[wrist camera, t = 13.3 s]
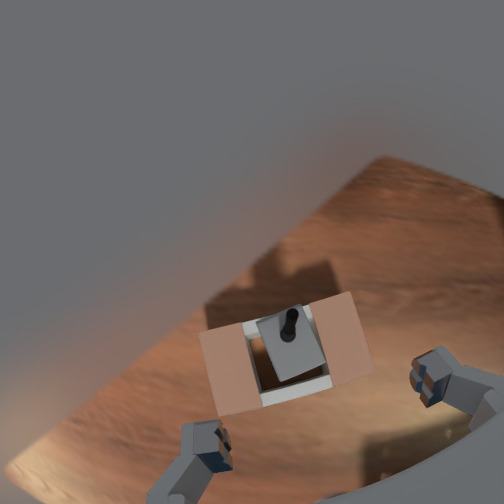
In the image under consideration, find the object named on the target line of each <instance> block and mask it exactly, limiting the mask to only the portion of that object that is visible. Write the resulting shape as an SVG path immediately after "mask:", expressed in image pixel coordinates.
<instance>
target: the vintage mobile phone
mask: <svg viewBox="0 0 504 504" xmlns="http://www.w3.org/2000/svg"><path fill="white" fill-rule="evenodd" d="M256 325H257V328H258V330H259V333H260V335H261V338H262V340H263V342H264V345H265V347H266V350H267V352H268V355H269V357H270V359H271V362H272V364H273V367H274V369H275V371H276V374H277V376H278V379H279V381H281V382H282V381H285V380H287V379H290V378H292V377H294V376H297V375H299V374H301V373H304V372H306V371H308V370H311V369H313V368H315V367H317V366H320V365H322V364H324V363H326V359H325V357H324V355H323V352H322V350H321V348H320V346H319V343H318V341H317V339H316V337H315V334H314V332H313V330H312V328H311V325H310V323H309V321H308V319H307V316H306V314H305V312H304V310H303V307H302V305H301V304H297V305H295V306H293V307H290V308H288V309H285V310H283V311H281V312H278V313H276V314H273V315H271V316H268V317H266V318H264V319H261V320H259V321H256Z"/></svg>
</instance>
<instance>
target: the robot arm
mask: <svg viewBox="0 0 504 504" xmlns="http://www.w3.org/2000/svg"><path fill="white" fill-rule="evenodd" d="M411 366H412V367H413V369H412V370H411V372H410V377H409V378H410V383H411V385H412V388H413V389H414V391H416V392H418V393H420V399H421V401H422V402H423V404H424V405H425V407H426V408H428V407H430V406H432V405H434V404H436V403H438V402H440V401H442V400H443V402H445V403H447V404H449V405H451V406H453V407H455V408H457V409H459V410H461V411H463V412H465V413H467V414H470V415H472V416H473V418H472V420H471V422H470V424H469V426H468V428H469V429H470V431H471V433H469V434H468V435H466V436H465V437H463V438H462V439H460V440H459V441H457V442H455V443H454V444H452V445H450V446H449V447H447V448H445V449H444V450H442V451H440V452H438V453H437V454H435V455H433V456H431V457H429V458H428V459H426V460H424V461H422V462H420V463H418V464H416V465H414V466H412V467H410V468H408V469H406V470H404V471H401V472H399V473H397V474H395V475H393V476H390V477H388V478H386V479H383V480H381V481H378V482H376V483H373V484H371V485H368V486H366V487H363V488H360V489H357V490H355V491H352V492H349V493H346V494H343V495H340V496H337V497H333V498H330V499H327V500H323V501H319V502H316V503H312V504H504V377H503V376H500V375H496V374H493V373H489V372H486V371H482V370H479V369H476V368H472V367H469V366H466V365H465V366H462V365H461V364H460V363H459V362H458V361H457V360H456V359H455V358H454V356H453V355H452V354H451V353H450V352H449V351H448V350H447V349H446V348H445V347H444V346H442V345H441V346H439V347H437V348H435V349H433V350H430V351H429V352H427V353H425V354H423V355H420V356H418V357H416V358H414V359H413V360H412V364H411ZM231 449H232V448H231V441H230V436H229V434H228V432H227V430H226V429H225V428H223V423H222V421H221V420H220V419H217V420H210V421H202V422H194V423H186V424H183V426H182V435H181V450H180V456H177V457H176V458H175V459H174V461H173V462H172V463H171V464H170V466H169V467H168V468H167V469H166V471H165V472H164V473H163V474H162V476H161V477H160V478H159V479H158V481H157V482H156V483H155V484H154V485H153V487H152V488H151V489H150V490H149V491H148V493H147V499H146V504H197V503H198V501H199V499H200V497H201V496H202V494H203V492H204V491H205V489H206V487H207V485H208V484H209V482H210V480H211V478H212V477H213V475H214V474H213V473H220V472H226V471H232V470H233V460H232V456H231V455H230V453H229V452H230V450H231Z"/></svg>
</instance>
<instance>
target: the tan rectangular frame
mask: <svg viewBox="0 0 504 504" xmlns="http://www.w3.org/2000/svg"><path fill="white" fill-rule="evenodd" d="M302 307H303V310H304V312H305V314H306V316H307V319H308V321H309V323H310V325H311V328H312V330H313V332H314V334H315V337H316V339H317V341H318V343H319V346H320V348H321V350H322V352H323V355H324V357H325V359H326V363H324V364H322V365H321V368H322V372H323V374H322V375H319V376H316V377H312V378H309V379H306V380H302V381H299V382H295V383H292V384H288V385H285V386H281V387H277V388H273V389H269V390H265V391H262V388H261V384H260V380H259V377H258V373H257V369H256V365H255V361H254V358H253V354H252V350H251V346H250V342H249V340H251V339H255V338H259V337H261V335H260V333H259V330H258V328H257V325H256V321H259V320H261V319H264V318H266V317H268V316H266V317H263V318H259V319H255V320H251V321H247V322H244V323H241V322H240V323H236V324H232V325H228V326H223V327H219V328H215V329H211V330H207V331H202V332H199V337H200V341H201V346H202V350H203V355H204V359H205V364H206V368H207V372H208V376H209V381H210V385H211V389H212V393H213V397H214V401H215V405H216V408H217V412H218V416H224V415H229V414H234V413H239V412H244V411H249V410H253V409H258V408H262V407H264V406H268V405H272V404H276V403H280V402H284V401H287V400H291V399H295V398H298V397H302V396H305V395H309V394H312V393H315V392H318V391H322V390H325V389H328V388H331V387H336V386H339V385H342V384H344V383H347V382H350V381H353V380H356V379H358V378H361V377H364V376H366V375H369V374H371V373H374V372H375V369H374V366H373V362H372V359H371V356H370V352H369V349H368V346H367V342H366V339H365V336H364V333H363V330H362V326H361V323H360V320H359V317H358V314H357V311H356V308H355V305H354V302H353V299H352V296H351V293H350V291H348V292H345V293H342V294H339V295H335V296H332V297H329V298H326V299H322V300H319V301H316V302H312V303H309V305H306V306H302ZM270 316H271V315H270Z"/></svg>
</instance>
